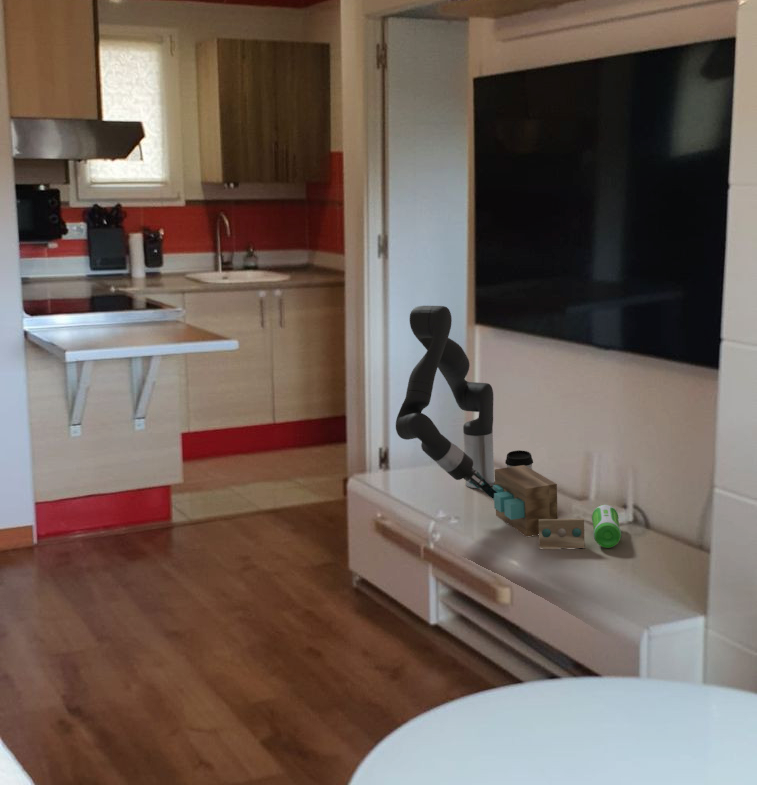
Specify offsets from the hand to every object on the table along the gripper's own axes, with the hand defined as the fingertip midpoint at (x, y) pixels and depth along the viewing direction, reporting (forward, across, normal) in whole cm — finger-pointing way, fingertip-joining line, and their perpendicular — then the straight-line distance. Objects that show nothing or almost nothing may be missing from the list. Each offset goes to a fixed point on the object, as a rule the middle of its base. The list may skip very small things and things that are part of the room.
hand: (494, 495), depth 338 cm
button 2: (+2, -14, +1) cm, 14 cm away
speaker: (+20, -28, -9) cm, 36 cm away
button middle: (+2, -7, +1) cm, 7 cm away
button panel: (+10, -7, +1) cm, 12 cm away
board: (+10, -28, 0) cm, 30 cm away
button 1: (+4, 0, -1) cm, 4 cm away
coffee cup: (+15, +12, -4) cm, 19 cm away
